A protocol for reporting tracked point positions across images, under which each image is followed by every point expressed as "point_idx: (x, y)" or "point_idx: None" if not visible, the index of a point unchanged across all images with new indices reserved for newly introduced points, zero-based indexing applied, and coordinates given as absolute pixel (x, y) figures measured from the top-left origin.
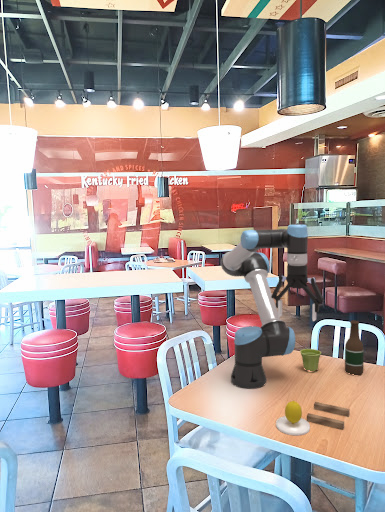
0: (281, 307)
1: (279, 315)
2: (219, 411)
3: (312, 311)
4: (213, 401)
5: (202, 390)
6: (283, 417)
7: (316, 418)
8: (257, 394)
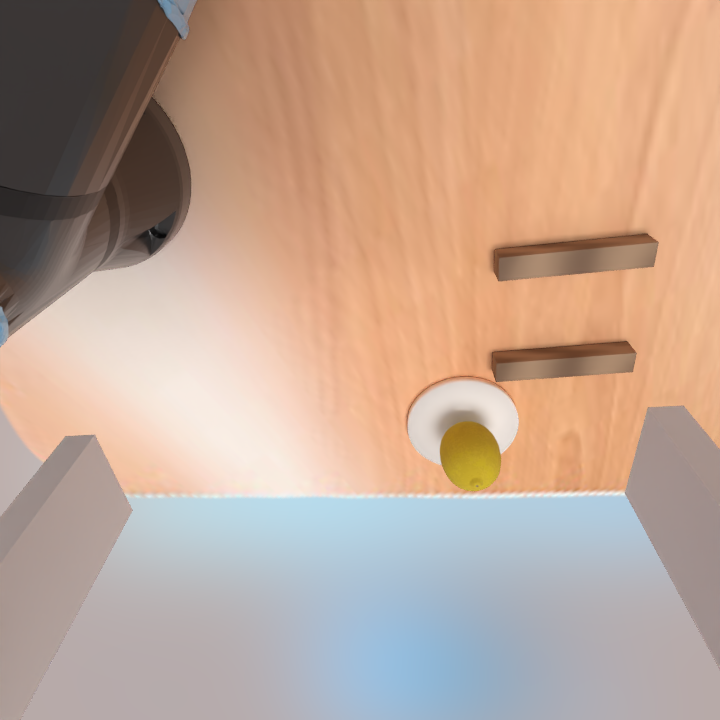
0: (24, 591)
1: (116, 527)
2: (217, 452)
3: (706, 644)
4: (149, 412)
5: (43, 365)
6: (420, 409)
7: (532, 377)
8: (229, 277)
